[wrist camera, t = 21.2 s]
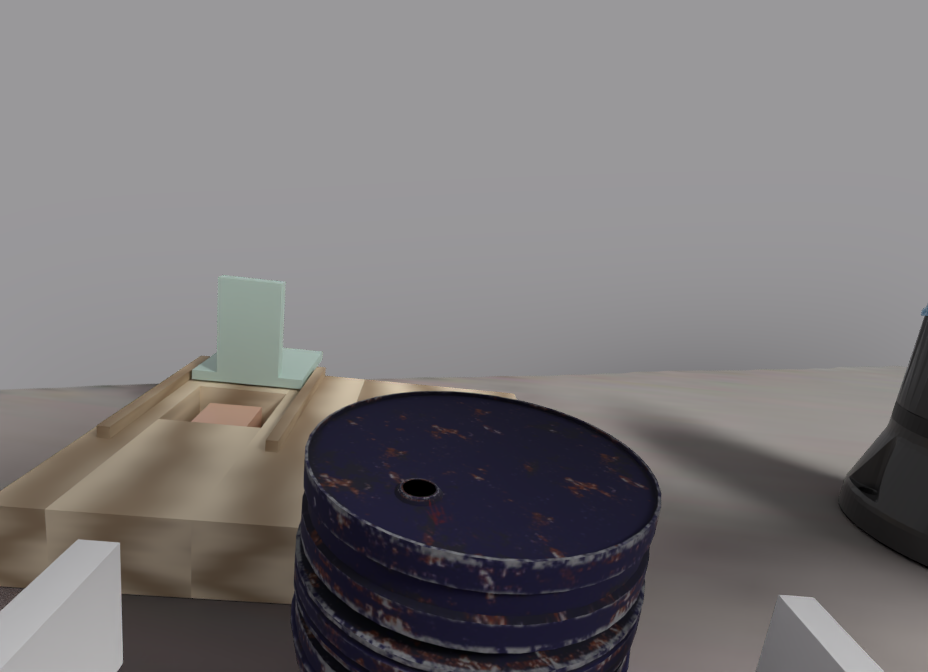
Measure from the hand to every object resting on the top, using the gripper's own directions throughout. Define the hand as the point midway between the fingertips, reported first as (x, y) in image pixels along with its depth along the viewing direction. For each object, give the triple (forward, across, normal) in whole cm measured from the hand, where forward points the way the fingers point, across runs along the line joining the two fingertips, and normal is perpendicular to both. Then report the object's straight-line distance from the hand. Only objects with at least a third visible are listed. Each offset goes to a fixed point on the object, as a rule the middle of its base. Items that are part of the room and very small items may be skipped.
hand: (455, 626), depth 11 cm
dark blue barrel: (+5, +1, -14) cm, 14 cm away
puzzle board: (+28, -7, -13) cm, 32 cm away
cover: (+40, -16, -9) cm, 44 cm away
